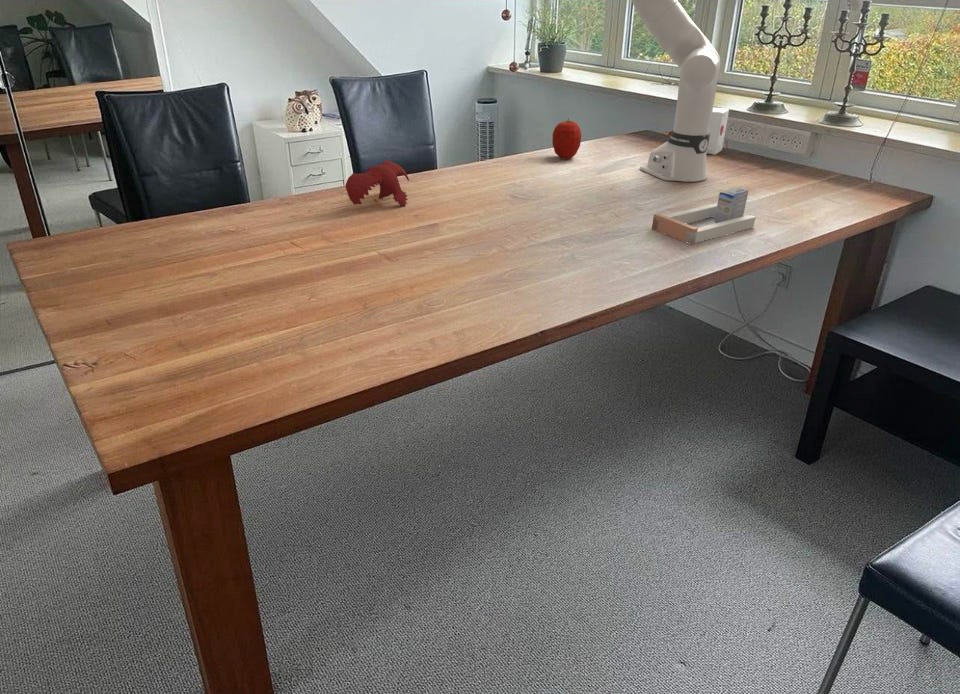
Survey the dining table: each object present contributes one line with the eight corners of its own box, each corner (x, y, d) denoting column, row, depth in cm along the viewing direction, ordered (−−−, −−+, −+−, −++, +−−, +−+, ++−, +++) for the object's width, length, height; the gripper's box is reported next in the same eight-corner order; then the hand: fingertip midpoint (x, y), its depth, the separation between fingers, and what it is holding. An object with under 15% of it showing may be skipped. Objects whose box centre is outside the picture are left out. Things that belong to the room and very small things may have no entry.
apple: (551, 154, 253) (554, 114, 247) (579, 155, 252) (583, 115, 246) (550, 161, 244) (552, 120, 238) (579, 162, 243) (582, 121, 237)
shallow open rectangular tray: (651, 228, 185) (653, 214, 183) (713, 213, 196) (716, 199, 194) (690, 244, 175) (693, 229, 173) (753, 227, 187) (756, 213, 185)
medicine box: (727, 216, 194) (733, 186, 190) (742, 220, 192) (749, 189, 187) (713, 223, 190) (718, 191, 185) (728, 227, 187) (734, 195, 183)
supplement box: (715, 155, 255) (722, 112, 248) (691, 151, 260) (697, 109, 252) (722, 150, 262) (730, 108, 255) (699, 146, 266) (705, 105, 259)
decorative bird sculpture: (416, 205, 214) (386, 164, 212) (435, 187, 208) (405, 146, 207) (363, 233, 192) (329, 188, 190) (383, 215, 186) (348, 168, 184)
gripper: (832, -42, 198) (836, 10, 204) (839, -42, 182) (844, 15, 187) (857, -50, 196) (861, 3, 201) (867, -51, 179) (871, 7, 184)
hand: (853, 8), depth 194 cm, fingers open, 8 cm apart
